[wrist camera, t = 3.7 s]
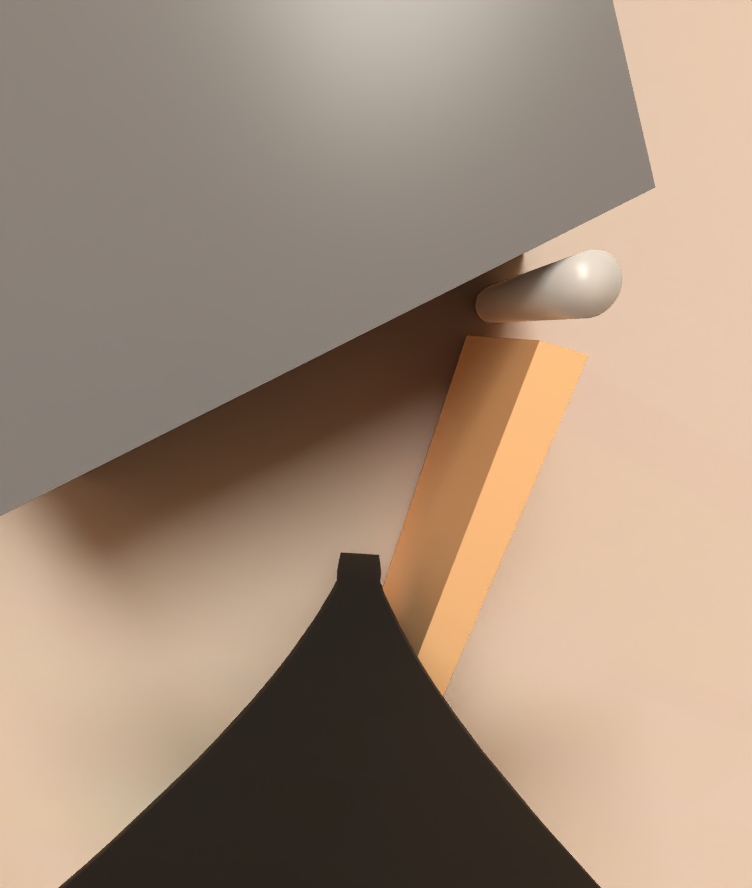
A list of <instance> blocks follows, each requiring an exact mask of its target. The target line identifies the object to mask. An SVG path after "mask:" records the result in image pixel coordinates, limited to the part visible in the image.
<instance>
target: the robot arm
mask: <svg viewBox="0 0 752 888" xmlns="http://www.w3.org/2000/svg"><path fill="white" fill-rule="evenodd" d="M380 578H381V568H380V559H379V555H372V554H355V553H341V554H340V559H339V564H338V570H337V581H336V583H335V585H334V587H333V589H332V591H331V592H330V594H329V596H328V597H327V599H326V601H325V602H324V604H323V606H322V607H321V609H320V611H319V612H318V614H317V615H316V617H315V619H314V620H313V622H312V623H311V624H310V626H309V627H308V629H307V630H306V632H305V633H304V634H303V636H302V637H301V639H300V640H299V641H298V643H297V644H296V646H295V647H294V649H293V650H292V651H291V653H290V654H289V655H288V657H287V658H286V659H285V661H284V662H283V663H282V664H281V666H280V667H279V668H278V669H277V671H276V672H275V673H274V674H273V676H272V677H271V678H270V679H269V681H268V682H267V683H266V684H265V685H264V687H263V688H262V689H261V690H260V691H259V692H258V694H257V695H256V696H255V697H254V698H253V700H252V701H251V702H250V703H249V704H248V705H247V706H246V707H245V708H244V710H243V711H242V712H241V713H240V714H239V715H238V716H237V717H236V718H235V719H234V720H233V722H232V723H231V724H230V725H229V726H228V727H227V728H226V729H225V730H224V731H223V732H222V734H221V735H220V736H219V737H218V738H217V739H216V740H215V741H214V742H213V743H212V744H211V745H210V746H209V747H208V748H207V749H206V750H205V751H204V752H203V754H202V755H201V756H200V757H199V758H198V759H197V760H196V761H195V762H194V763H193V764H192V765H191V766H190V767H189V768H188V769H187V770H186V771H185V772H184V773H182V774H181V775H180V776H179V777H178V778H177V779H176V780H175V781H174V782H173V783H172V784H171V785H170V786H169V787H168V788H167V789H166V790H165V791H164V792H163V793H161V794H160V795H159V796H158V797H157V798H156V799H155V800H154V801H153V802H152V803H151V804H150V805H149V806H148V807H147V808H146V809H145V810H144V811H143V812H142V813H140V814H139V815H138V816H137V817H136V818H135V819H134V820H133V821H132V822H131V823H130V824H129V825H128V826H127V827H126V828H125V829H124V830H123V831H122V832H121V833H119V834H118V835H117V836H116V837H115V838H114V839H113V840H112V841H111V842H110V843H109V844H108V845H106V846H105V847H104V848H103V849H102V850H101V851H100V852H99V853H98V854H97V855H95V856H94V857H93V858H92V859H91V860H90V861H89V862H88V863H87V864H85V865H84V866H83V867H82V868H81V869H80V870H79V871H77V872H76V873H75V874H74V875H73V876H72V877H70V878H69V879H68V880H67V881H66V882H65V883H63V884H62V885H61V886H60V887H59V888H601V887H600V886H599V885H598V884H597V883H596V882H595V881H594V880H593V879H592V877H591V876H590V875H589V874H588V873H587V872H586V871H585V870H584V869H583V867H582V866H581V865H580V864H579V863H578V862H577V861H576V860H575V859H574V858H573V856H572V855H571V854H570V853H569V852H568V851H567V850H566V849H565V848H564V846H563V845H562V844H561V843H560V842H559V841H558V840H557V839H556V838H555V836H554V835H553V834H552V833H551V832H550V831H549V830H548V829H547V828H546V826H545V825H544V824H543V823H542V822H541V821H540V819H539V818H538V817H537V816H536V815H535V813H534V812H533V811H532V810H531V809H530V807H529V806H528V805H527V804H526V803H525V801H524V800H523V799H522V798H521V797H520V795H519V794H518V793H517V792H516V791H515V789H514V788H513V787H512V786H511V784H510V783H509V782H508V781H507V780H506V778H505V777H504V776H503V775H502V774H501V772H500V771H499V770H498V769H497V768H496V766H495V765H494V764H493V763H492V762H491V760H490V759H489V758H488V757H487V756H486V754H485V753H484V752H483V751H482V749H481V748H480V747H479V745H478V744H477V743H476V741H475V740H474V739H473V737H472V736H471V735H470V733H469V732H468V731H467V729H466V728H465V727H464V725H463V724H462V723H461V721H460V720H459V719H458V717H457V716H456V715H455V713H454V712H453V710H452V709H451V707H450V706H449V704H448V703H447V702H446V700H445V699H444V697H443V696H442V694H441V693H440V691H439V690H438V689H437V687H436V685H435V684H434V682H433V681H432V679H431V678H430V676H429V675H428V673H427V671H426V670H425V668H424V667H423V665H422V663H421V662H420V660H419V658H418V657H417V655H416V653H415V652H414V650H413V648H412V646H411V645H410V643H409V641H408V639H407V638H406V636H405V634H404V632H403V630H402V628H401V627H400V625H399V622H398V620H397V618H396V616H395V614H394V612H393V610H392V608H391V606H390V604H389V602H388V600H387V598H386V596H385V593H384V591H383V588H382V586H381V584H380Z"/></svg>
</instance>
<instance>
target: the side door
mask: <svg viewBox="0 0 752 888" xmlns="http://www.w3.org/2000/svg"><path fill="white" fill-rule="evenodd" d="M588 356H589V355H586V354H583V353H580V352H576V351H573V350H570V349H566V348H563V347H560V346H556V345H553V344H550V343H546V342H543V341H539V340H525V339H510V338H496V337H482V336H468V335H467V336H466V339H465V342H464V345H463V348H462V351H461V354H460V357H459V360H458V363H457V366H456V369H455V372H454V375H453V378H452V381H451V384H450V387H449V390H448V393H447V396H446V399H445V402H444V405H443V408H442V411H441V414H440V417H439V420H438V424H437V427H436V430H435V433H434V436H433V439H432V442H431V445H430V448H429V451H428V454H427V457H426V460H425V463H424V466H423V469H422V472H421V475H420V478H419V481H418V484H417V487H416V490H415V493H414V496H413V499H412V502H411V505H410V508H409V511H408V514H407V517H406V520H405V523H404V526H403V529H402V532H401V535H400V538H399V541H398V544H397V547H396V550H395V553H394V556H393V559H392V562H391V565H390V568H389V571H388V574H387V577H386V580H385V583H384V586H383V591H384V593H385V596H386V598H387V600H388V602H389V604H390V606H391V608H392V610H393V612H394V614H395V616H396V618H397V620H398V622H399V625H400V627H401V628H402V630H403V632H404V634H405V636H406V638H407V639H408V641H409V643H410V645H411V646H412V648H413V650H414V652H415V653H416V655H417V657H418V658H419V660H420V662H421V663H422V665H423V667H424V668H425V670H426V671H427V673H428V675H429V676H430V678H431V679H432V681H433V682H434V684H435V685H436V687H437V689H438V690H439V691H440V693H441V694H442V696H444V693H445V691H446V689H447V686H448V684H449V682H450V679H451V677H452V675H453V672H454V670H455V668H456V665H457V663H458V661H459V658H460V656H461V654H462V651H463V649H464V647H465V644H466V642H467V639H468V637H469V635H470V632H471V630H472V628H473V625H474V623H475V621H476V618H477V616H478V614H479V611H480V609H481V607H482V604H483V602H484V600H485V597H486V595H487V593H488V590H489V588H490V586H491V583H492V581H493V578H494V576H495V574H496V571H497V569H498V567H499V564H500V562H501V560H502V557H503V555H504V553H505V550H506V548H507V546H508V543H509V541H510V539H511V536H512V534H513V532H514V529H515V527H516V525H517V522H518V520H519V517H520V515H521V513H522V510H523V508H524V506H525V503H526V501H527V499H528V496H529V494H530V492H531V489H532V487H533V485H534V482H535V480H536V478H537V475H538V473H539V471H540V468H541V466H542V464H543V461H544V459H545V456H546V454H547V452H548V449H549V447H550V445H551V442H552V440H553V438H554V435H555V433H556V431H557V428H558V426H559V424H560V421H561V419H562V417H563V414H564V412H565V410H566V407H567V405H568V403H569V400H570V398H571V395H572V393H573V391H574V388H575V386H576V384H577V381H578V379H579V377H580V374H581V372H582V370H583V367H584V365H585V363H586V360H587V358H588Z"/></svg>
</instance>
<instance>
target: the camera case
mask: <svg viewBox="0 0 752 888" xmlns="http://www.w3.org/2000/svg"><path fill="white" fill-rule="evenodd" d="M653 188H655V184H654V180H653V175H652V171H651V166H650V162H649V158H648V153H647V149H646V145H645V140H644V136H643V132H642V127H641V123H640V118H639V114H638V110H637V105H636V101H635V97H634V92H633V88H632V84H631V79H630V75H629V70H628V66H627V62H626V57H625V53H624V49H623V44H622V40H621V36H620V31H619V27H618V22H617V18H616V14H615V9H614V5H613V1H612V0H0V516H1V515H3V514H5V513H7V512H9V511H11V510H13V509H15V508H17V507H19V506H21V505H23V504H25V503H27V502H29V501H31V500H33V499H35V498H37V497H39V496H41V495H43V494H45V493H47V492H49V491H51V490H53V489H55V488H57V487H59V486H61V485H63V484H65V483H67V482H69V481H71V480H73V479H75V478H77V477H79V476H81V475H83V474H85V473H87V472H89V471H91V470H93V469H95V468H97V467H99V466H101V465H103V464H105V463H107V462H109V461H111V460H113V459H115V458H117V457H119V456H121V455H123V454H125V453H127V452H129V451H131V450H133V449H135V448H137V447H139V446H141V445H143V444H145V443H147V442H149V441H151V440H153V439H155V438H157V437H159V436H161V435H163V434H165V433H167V432H169V431H170V430H172V429H174V428H176V427H178V426H180V425H182V424H184V423H186V422H188V421H190V420H192V419H194V418H196V417H198V416H200V415H202V414H204V413H206V412H208V411H210V410H212V409H214V408H216V407H218V406H220V405H222V404H224V403H226V402H228V401H230V400H232V399H234V398H236V397H238V396H240V395H242V394H244V393H246V392H248V391H250V390H252V389H254V388H256V387H258V386H260V385H262V384H264V383H266V382H268V381H270V380H272V379H274V378H276V377H278V376H280V375H282V374H284V373H286V372H288V371H290V370H292V369H294V368H296V367H298V366H300V365H302V364H304V363H306V362H308V361H310V360H312V359H314V358H316V357H318V356H320V355H322V354H324V353H326V352H328V351H330V350H332V349H334V348H336V347H338V346H340V345H342V344H344V343H346V342H348V341H350V340H352V339H354V338H356V337H358V336H360V335H362V334H364V333H366V332H368V331H370V330H372V329H374V328H376V327H378V326H380V325H382V324H384V323H386V322H388V321H390V320H392V319H394V318H396V317H398V316H400V315H402V314H404V313H406V312H408V311H410V310H412V309H414V308H416V307H418V306H420V305H422V304H424V303H426V302H428V301H430V300H432V299H434V298H436V297H438V296H440V295H442V294H444V293H446V292H448V291H450V290H452V289H454V288H455V287H457V286H459V285H461V284H463V283H465V282H467V281H469V280H471V279H473V278H475V277H477V276H479V275H481V274H483V273H485V272H487V271H489V270H491V269H493V268H495V267H497V266H499V265H501V264H503V263H505V262H507V261H509V260H511V259H513V258H515V257H517V256H519V255H521V254H523V253H525V252H527V251H529V250H531V249H533V248H535V247H537V246H539V245H541V244H543V243H545V242H547V241H549V240H551V239H553V238H555V237H557V236H559V235H561V234H563V233H565V232H567V231H569V230H571V229H573V228H575V227H577V226H579V225H581V224H583V223H585V222H587V221H589V220H591V219H593V218H595V217H597V216H599V215H601V214H603V213H605V212H607V211H609V210H611V209H613V208H615V207H617V206H619V205H621V204H623V203H625V202H627V201H629V200H631V199H633V198H635V197H637V196H639V195H641V194H643V193H645V192H647V191H649V190H651V189H653ZM621 285H622V272H621V268H620V265H619V263H618V262H617V260H616V259H615V258H614V257H613V256H612V255H611V254H609V253H608V252H606V251H603V250H588V251H584V252H581V253H579V254H576V255H573V256H570V257H568V258H565V259H562V260H560V261H557V262H554V263H551V264H549V265H546V266H543V267H540V268H538V269H535V270H532V271H529V272H527V273H524V274H521V275H518V276H516V277H513V278H510V279H507V280H505V281H502V282H499V283H496V284H494V285H491V286H488V287H486V288H484V289H483V290H482V291H481V292H480V293H479V295H478V297H477V299H476V304H475V307H476V312H477V314H478V316H479V317H480V318H481V319H482V320H483V321H485V322H488V323H499V322H519V321H539V320H559V319H579V318H591V317H595V316H597V315H600V314H601V313H603V312H605V311H606V310H607V309H608V308H609V307H610V306H611V305H612V304H613V303H614V302H615V300H616V298H617V297H618V295H619V292H620V289H621Z"/></svg>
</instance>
